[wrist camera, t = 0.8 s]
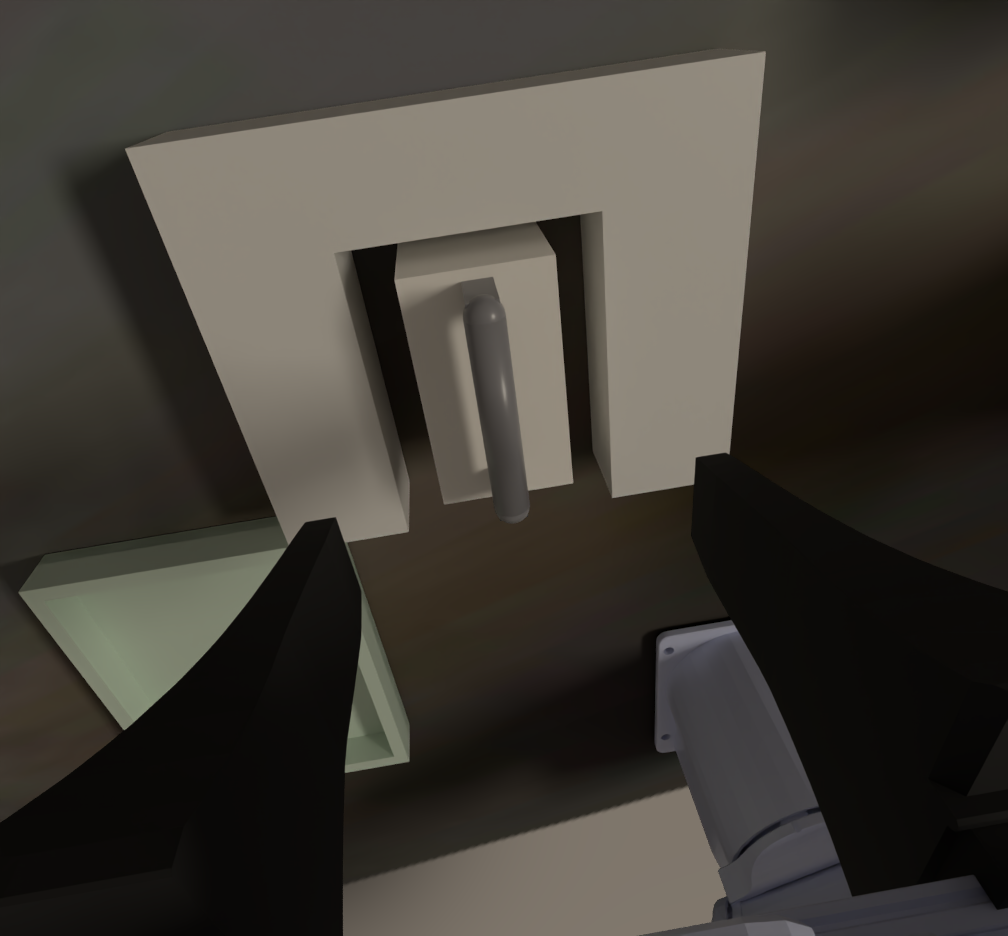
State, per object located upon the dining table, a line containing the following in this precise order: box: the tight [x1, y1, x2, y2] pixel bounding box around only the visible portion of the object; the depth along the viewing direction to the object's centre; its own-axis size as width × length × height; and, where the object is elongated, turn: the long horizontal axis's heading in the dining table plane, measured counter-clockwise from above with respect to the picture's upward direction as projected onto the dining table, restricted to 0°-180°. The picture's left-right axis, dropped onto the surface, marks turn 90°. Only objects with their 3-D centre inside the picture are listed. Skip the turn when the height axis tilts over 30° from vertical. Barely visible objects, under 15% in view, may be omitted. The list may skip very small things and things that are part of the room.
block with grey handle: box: [394, 222, 573, 523], centre depth 19 cm, size 7×4×6 cm, turn 7°
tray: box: [18, 516, 410, 773], centre depth 28 cm, size 14×11×2 cm
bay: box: [125, 49, 766, 545], centre depth 20 cm, size 12×15×3 cm
